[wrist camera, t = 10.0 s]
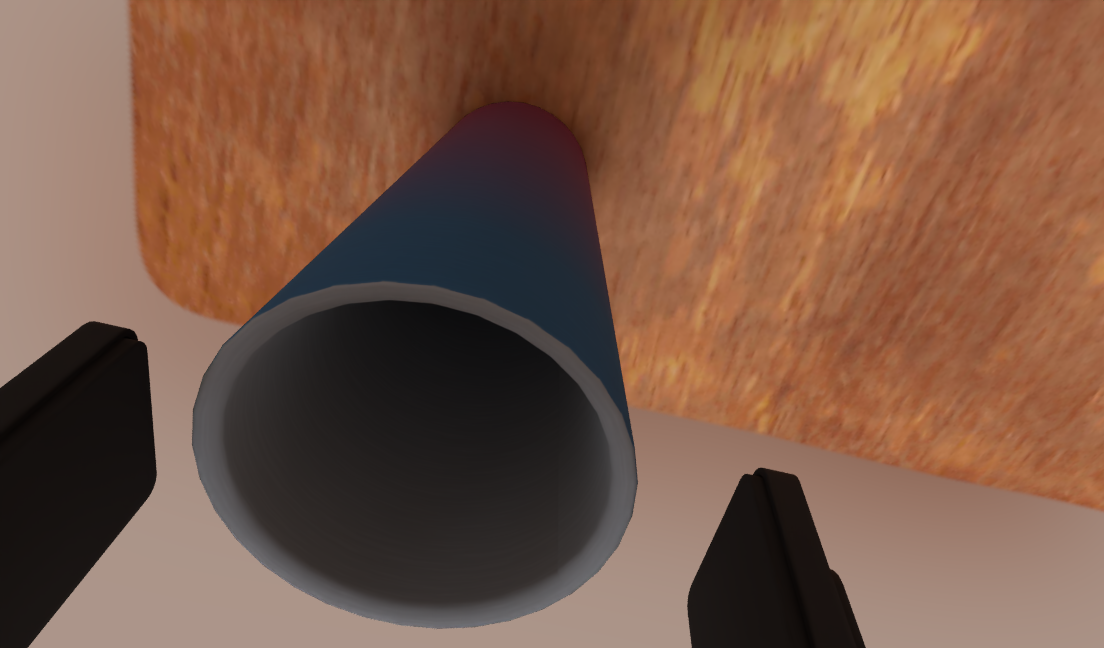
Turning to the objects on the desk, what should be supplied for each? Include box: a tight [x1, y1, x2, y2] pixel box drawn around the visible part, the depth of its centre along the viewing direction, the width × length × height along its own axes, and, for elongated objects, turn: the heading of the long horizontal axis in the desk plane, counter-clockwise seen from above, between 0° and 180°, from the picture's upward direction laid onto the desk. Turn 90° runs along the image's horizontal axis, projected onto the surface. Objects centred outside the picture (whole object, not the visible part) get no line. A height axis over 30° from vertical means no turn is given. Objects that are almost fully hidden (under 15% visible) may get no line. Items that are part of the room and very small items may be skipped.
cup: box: [192, 102, 638, 629], centre depth 17 cm, size 7×7×15 cm
